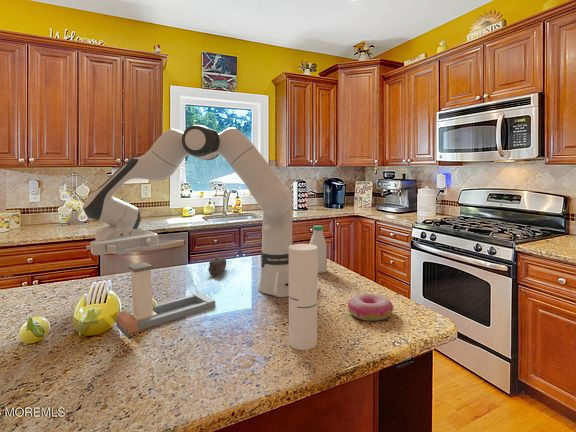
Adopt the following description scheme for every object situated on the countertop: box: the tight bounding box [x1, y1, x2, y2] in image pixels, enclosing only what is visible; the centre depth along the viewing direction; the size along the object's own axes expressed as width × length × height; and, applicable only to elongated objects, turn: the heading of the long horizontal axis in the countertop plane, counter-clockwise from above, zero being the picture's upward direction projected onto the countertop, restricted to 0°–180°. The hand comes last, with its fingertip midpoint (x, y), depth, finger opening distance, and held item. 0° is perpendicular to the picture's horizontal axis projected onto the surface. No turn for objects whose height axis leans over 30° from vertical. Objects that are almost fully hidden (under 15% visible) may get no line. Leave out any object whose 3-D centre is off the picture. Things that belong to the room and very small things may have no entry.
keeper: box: [128, 261, 157, 322], centre depth 95 cm, size 6×6×16 cm
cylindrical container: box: [288, 243, 318, 351], centre depth 85 cm, size 7×7×25 cm
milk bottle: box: [309, 224, 328, 274], centre depth 148 cm, size 8×8×20 cm
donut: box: [347, 293, 394, 322], centre depth 104 cm, size 14×13×5 cm
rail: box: [115, 292, 216, 340], centre depth 101 cm, size 26×10×4 cm, turn 133°
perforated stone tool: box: [207, 256, 227, 277], centre depth 146 cm, size 15×5×7 cm, turn 169°
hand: (133, 246), depth 105 cm, fingers open, 8 cm apart
